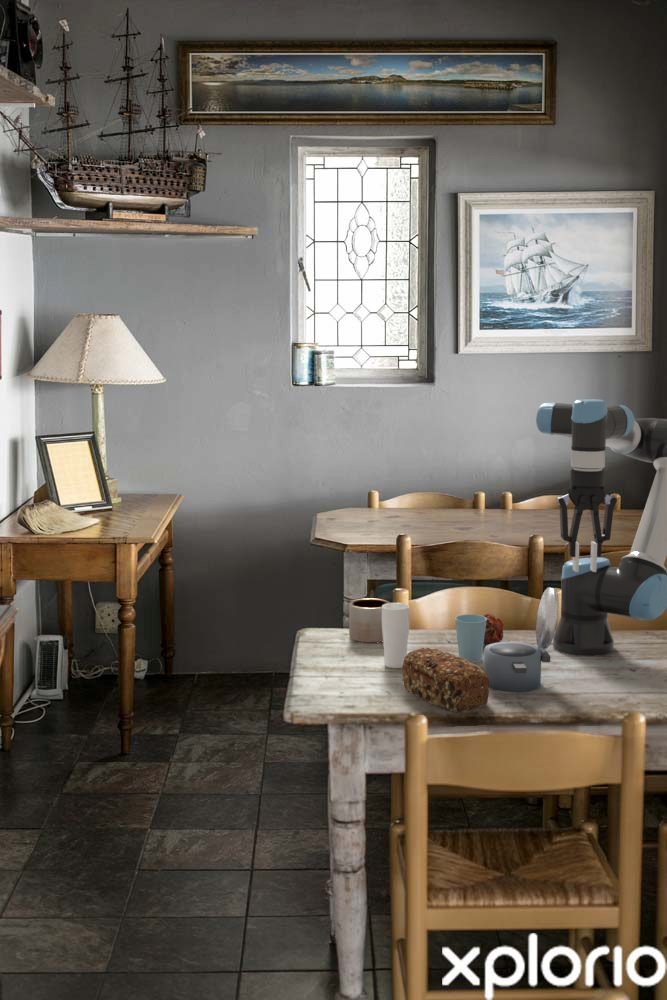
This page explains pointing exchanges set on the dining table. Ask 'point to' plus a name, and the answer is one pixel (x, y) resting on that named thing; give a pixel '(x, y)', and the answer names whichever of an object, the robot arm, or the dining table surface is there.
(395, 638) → the drinking glass
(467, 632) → the cup
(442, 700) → the bread
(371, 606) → the planter
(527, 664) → the pot
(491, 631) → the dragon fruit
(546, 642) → the lid
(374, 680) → the dining table surface
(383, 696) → the dining table surface
